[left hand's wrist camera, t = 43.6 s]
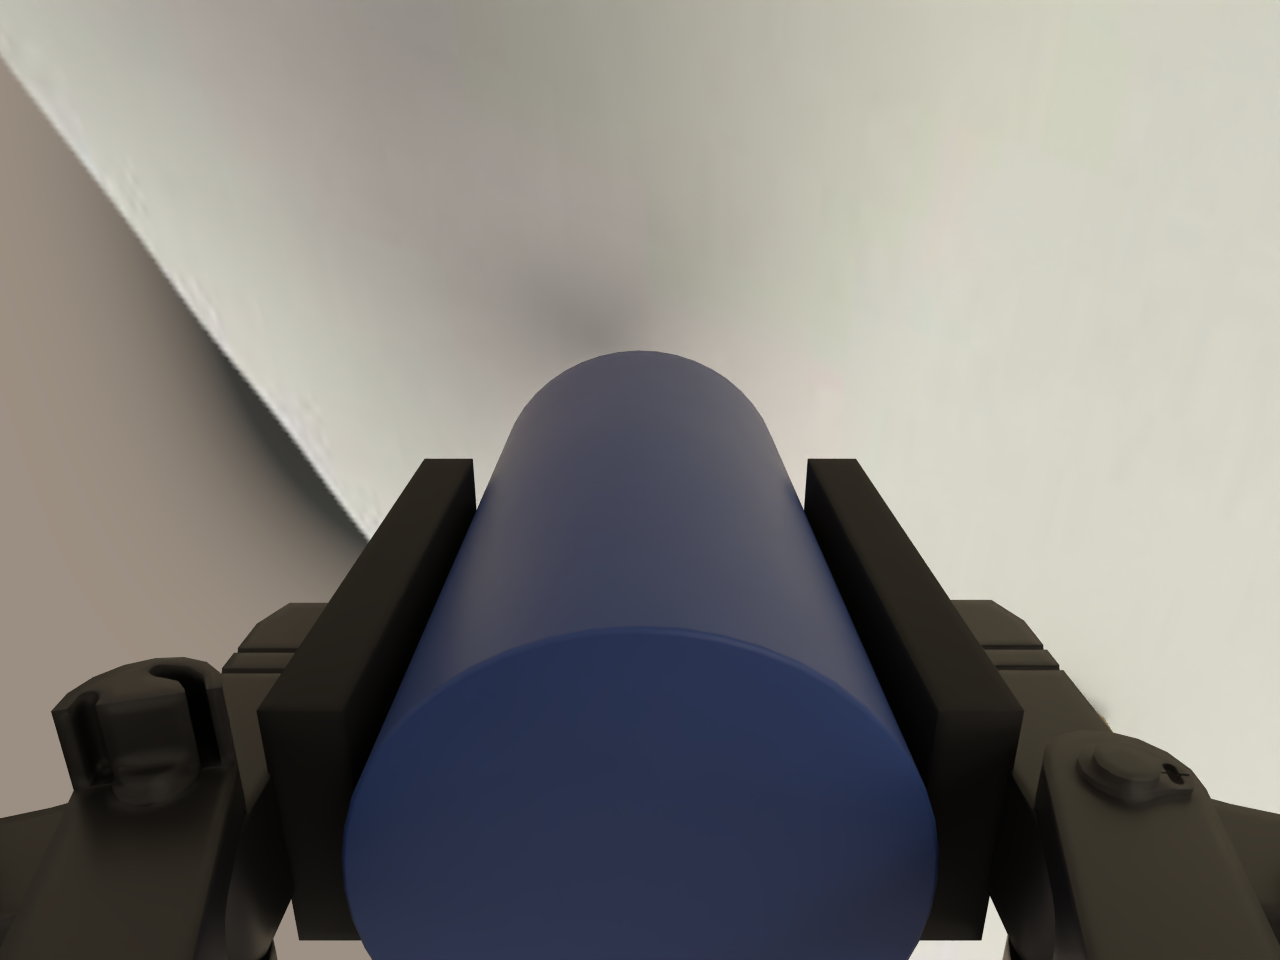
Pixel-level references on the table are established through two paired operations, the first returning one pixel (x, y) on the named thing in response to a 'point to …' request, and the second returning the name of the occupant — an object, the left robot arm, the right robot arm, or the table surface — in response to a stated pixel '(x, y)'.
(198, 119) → the table surface
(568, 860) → the canister
